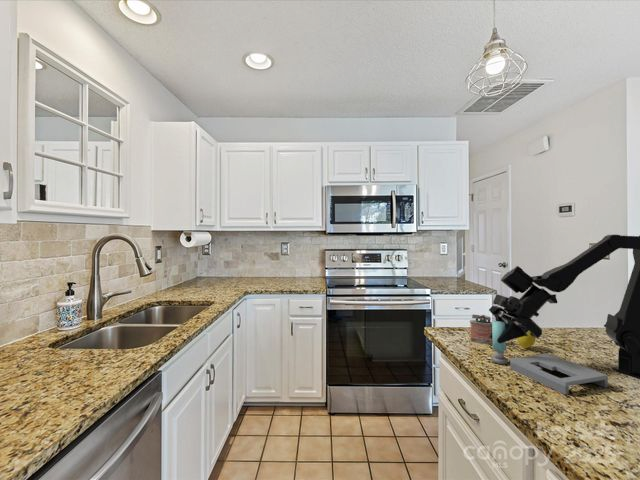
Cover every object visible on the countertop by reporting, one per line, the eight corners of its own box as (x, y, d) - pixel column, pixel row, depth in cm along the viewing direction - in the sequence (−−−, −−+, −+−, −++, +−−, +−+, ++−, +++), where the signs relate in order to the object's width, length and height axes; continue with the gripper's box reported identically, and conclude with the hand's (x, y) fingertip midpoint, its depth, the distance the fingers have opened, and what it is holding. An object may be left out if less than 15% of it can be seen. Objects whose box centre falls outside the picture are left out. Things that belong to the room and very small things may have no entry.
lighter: (495, 342, 115) (494, 315, 115) (494, 345, 112) (493, 317, 112) (470, 339, 119) (470, 312, 119) (469, 341, 116) (469, 314, 116)
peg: (499, 357, 99) (498, 320, 99) (511, 363, 95) (510, 323, 95) (488, 359, 98) (487, 321, 98) (499, 364, 94) (498, 325, 94)
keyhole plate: (547, 363, 95) (547, 353, 95) (607, 386, 80) (607, 375, 80) (510, 368, 92) (510, 358, 92) (565, 394, 76) (565, 382, 76)
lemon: (517, 344, 112) (517, 322, 112) (536, 347, 108) (536, 324, 108) (515, 349, 108) (514, 325, 108) (534, 352, 104) (534, 328, 104)
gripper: (494, 281, 106) (462, 314, 106) (530, 290, 87) (492, 330, 87) (517, 304, 106) (485, 337, 106) (559, 318, 87) (520, 358, 87)
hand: (494, 340), depth 97 cm, fingers closed on peg, 4 cm apart
